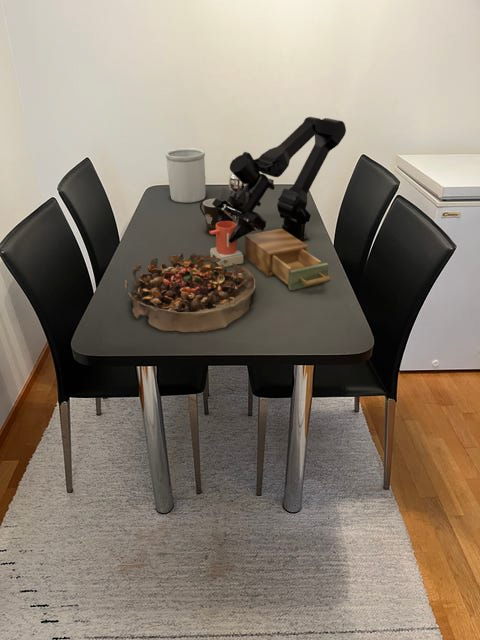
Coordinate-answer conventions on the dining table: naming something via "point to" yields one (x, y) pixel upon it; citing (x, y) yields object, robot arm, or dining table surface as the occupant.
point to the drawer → (299, 269)
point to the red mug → (225, 237)
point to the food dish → (191, 294)
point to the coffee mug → (210, 215)
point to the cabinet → (269, 247)
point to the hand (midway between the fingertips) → (222, 238)
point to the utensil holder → (186, 174)
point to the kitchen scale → (227, 257)
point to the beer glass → (235, 189)
